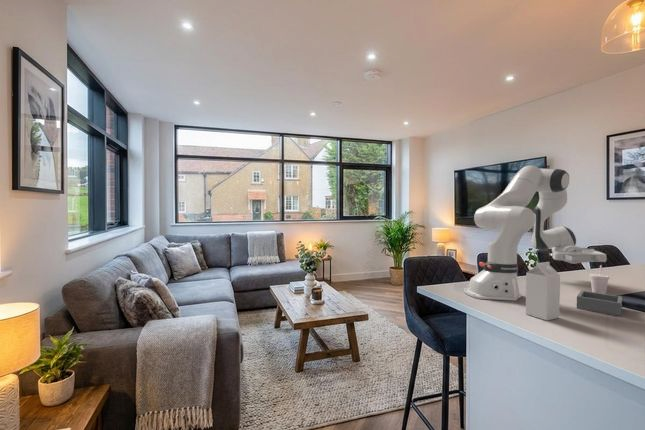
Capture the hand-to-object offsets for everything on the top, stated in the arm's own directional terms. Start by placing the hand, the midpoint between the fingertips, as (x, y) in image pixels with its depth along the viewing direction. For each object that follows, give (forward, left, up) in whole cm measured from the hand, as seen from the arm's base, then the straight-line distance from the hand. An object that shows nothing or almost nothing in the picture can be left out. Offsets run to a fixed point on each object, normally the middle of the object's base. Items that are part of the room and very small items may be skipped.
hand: (585, 259), depth 140 cm
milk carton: (-44, -32, -15) cm, 57 cm away
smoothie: (-4, -11, -15) cm, 19 cm away
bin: (-16, -24, -15) cm, 33 cm away
